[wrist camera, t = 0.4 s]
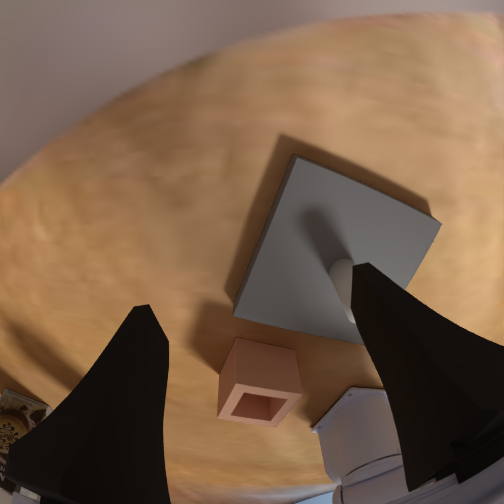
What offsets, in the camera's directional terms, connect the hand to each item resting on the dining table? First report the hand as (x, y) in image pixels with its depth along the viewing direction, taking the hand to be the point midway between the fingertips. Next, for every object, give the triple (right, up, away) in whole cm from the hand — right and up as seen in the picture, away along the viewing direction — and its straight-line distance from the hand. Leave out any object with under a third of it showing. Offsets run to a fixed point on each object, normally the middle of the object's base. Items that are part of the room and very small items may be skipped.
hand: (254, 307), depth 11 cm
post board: (+6, +1, +11) cm, 13 cm away
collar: (0, -8, +16) cm, 18 cm away
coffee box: (-34, -22, +22) cm, 46 cm away
